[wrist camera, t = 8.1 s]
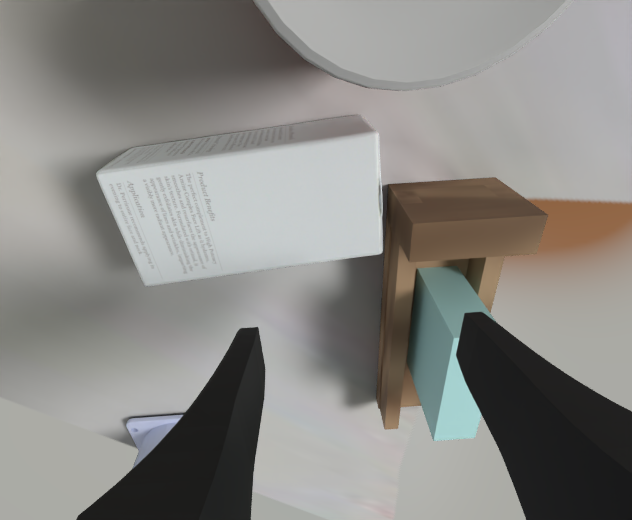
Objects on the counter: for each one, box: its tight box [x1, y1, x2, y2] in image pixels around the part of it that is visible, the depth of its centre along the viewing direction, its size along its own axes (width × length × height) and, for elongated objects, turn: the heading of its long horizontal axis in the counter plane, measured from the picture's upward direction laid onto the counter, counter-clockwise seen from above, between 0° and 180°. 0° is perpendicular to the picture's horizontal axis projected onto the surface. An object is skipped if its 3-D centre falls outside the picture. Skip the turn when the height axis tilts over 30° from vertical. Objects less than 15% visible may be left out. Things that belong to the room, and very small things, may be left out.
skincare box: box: [96, 115, 383, 286], centre depth 18 cm, size 6×4×12 cm
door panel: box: [407, 266, 496, 441], centre depth 22 cm, size 8×2×6 cm, turn 3°
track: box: [376, 178, 548, 429], centre depth 23 cm, size 18×6×5 cm, turn 3°
